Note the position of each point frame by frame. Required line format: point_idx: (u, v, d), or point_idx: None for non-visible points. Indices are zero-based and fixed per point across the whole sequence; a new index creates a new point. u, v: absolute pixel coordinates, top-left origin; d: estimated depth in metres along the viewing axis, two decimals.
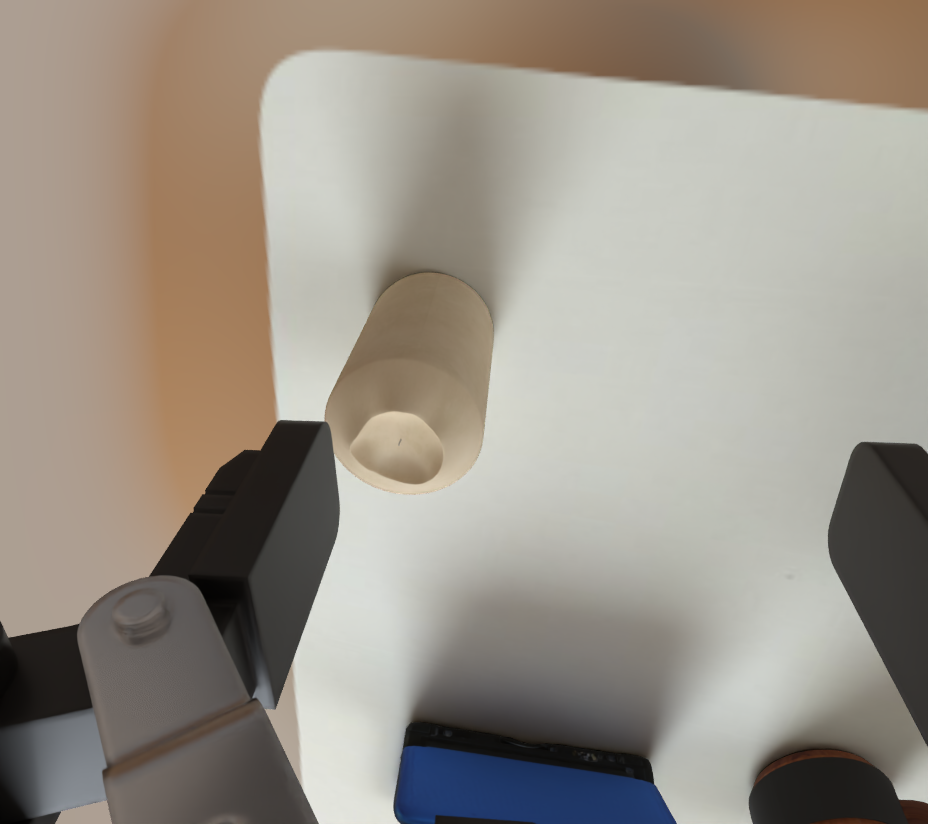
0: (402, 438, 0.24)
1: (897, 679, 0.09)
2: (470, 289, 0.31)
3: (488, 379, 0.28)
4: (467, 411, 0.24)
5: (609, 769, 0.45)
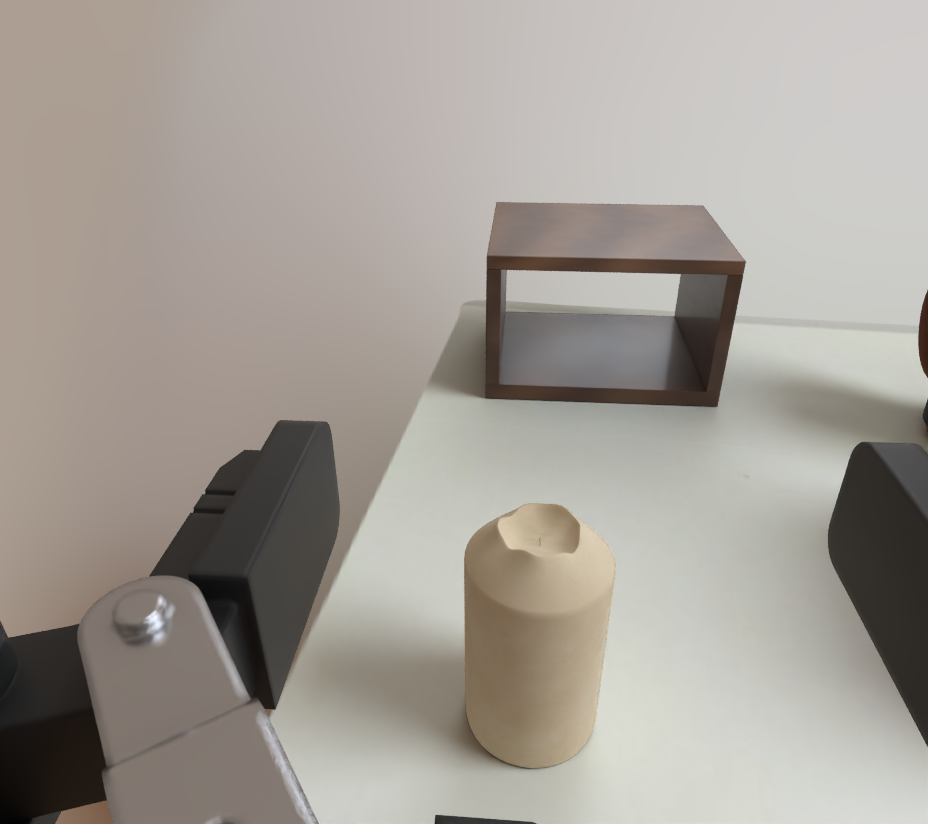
0: (538, 544, 0.26)
1: (897, 678, 0.09)
2: None
3: None
4: None
5: None
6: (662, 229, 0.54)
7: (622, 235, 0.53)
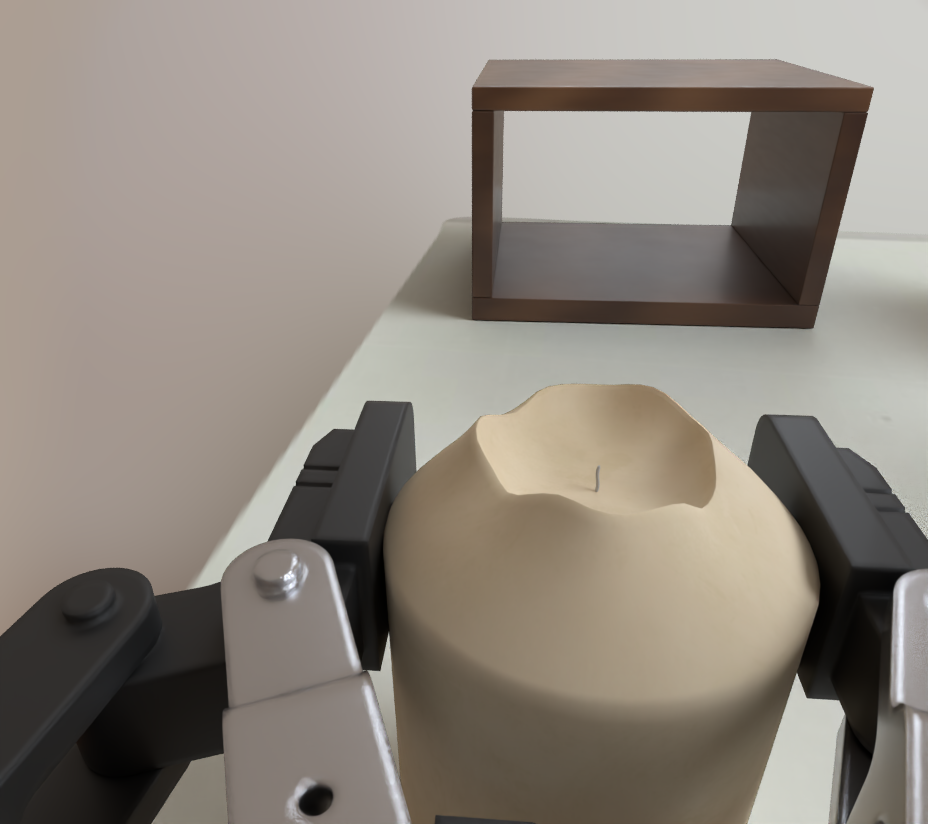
0: (592, 487, 0.09)
1: None
2: None
3: None
4: None
5: None
6: (730, 71, 0.37)
7: (672, 74, 0.36)
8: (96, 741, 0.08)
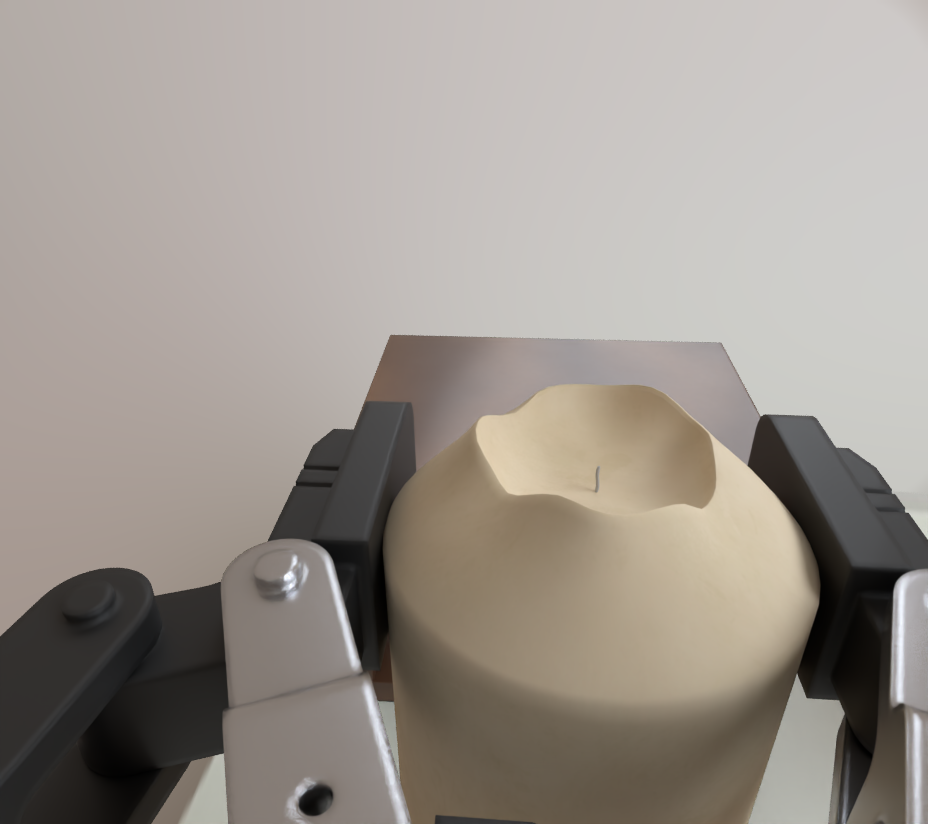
0: (592, 487, 0.09)
1: None
2: None
3: None
4: None
5: None
6: None
7: None
8: (96, 741, 0.08)
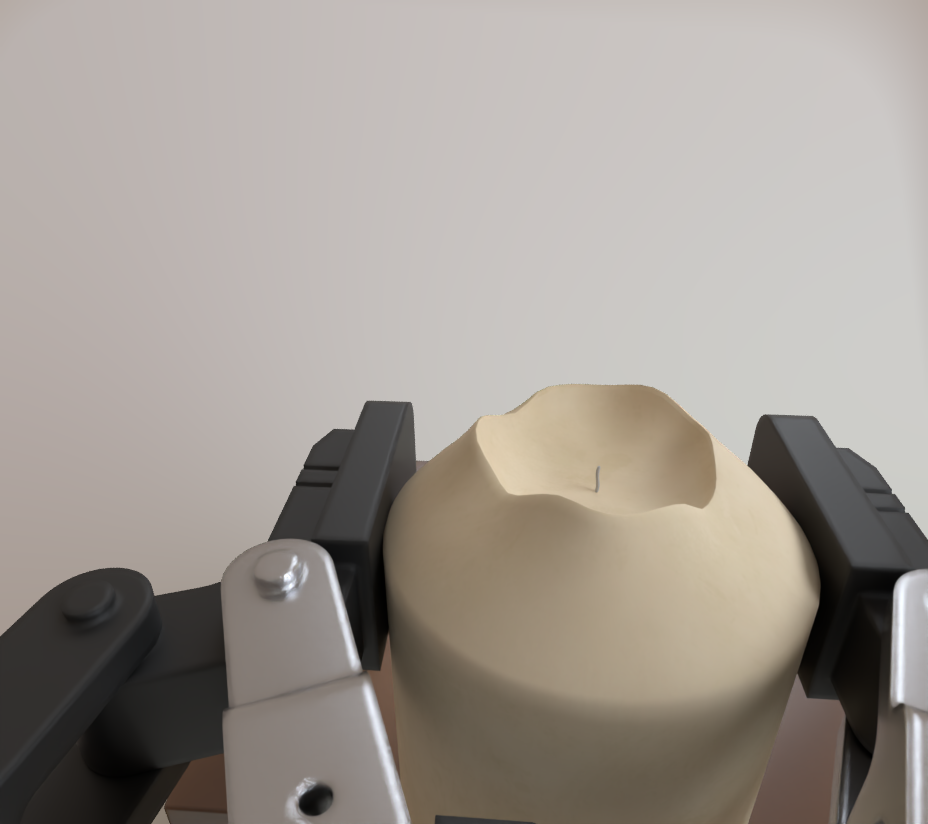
0: (592, 488, 0.09)
1: None
2: None
3: None
4: None
5: None
6: None
7: None
8: (96, 741, 0.08)
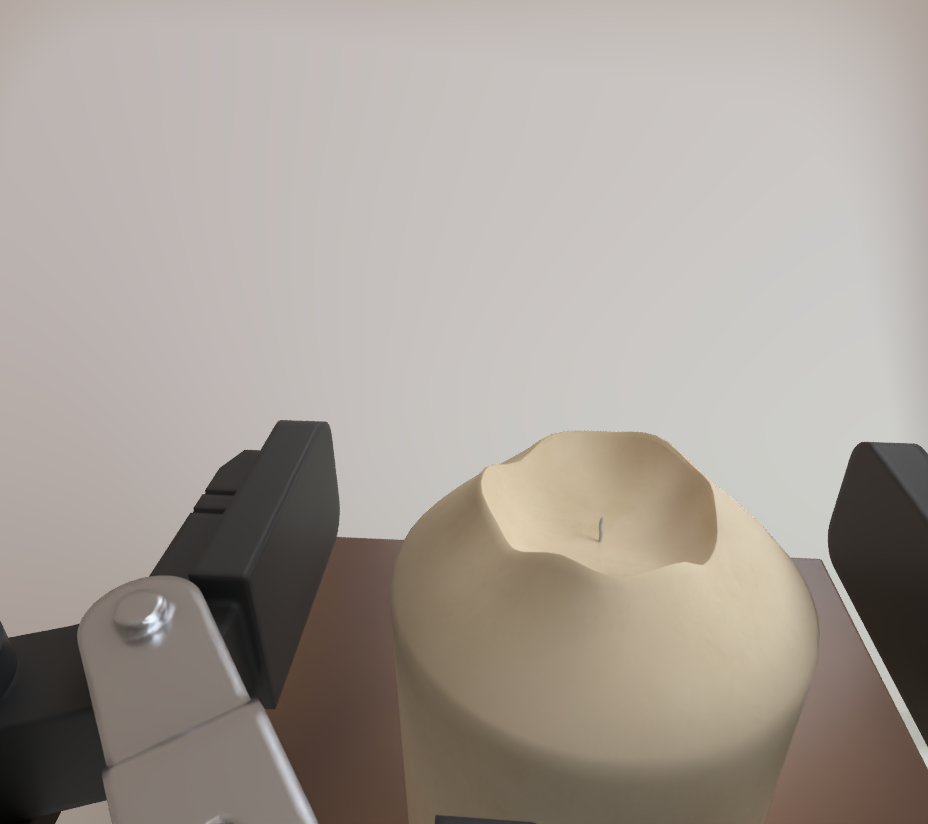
0: (596, 537, 0.09)
1: (897, 678, 0.09)
2: None
3: None
4: None
5: None
6: None
7: None
8: None
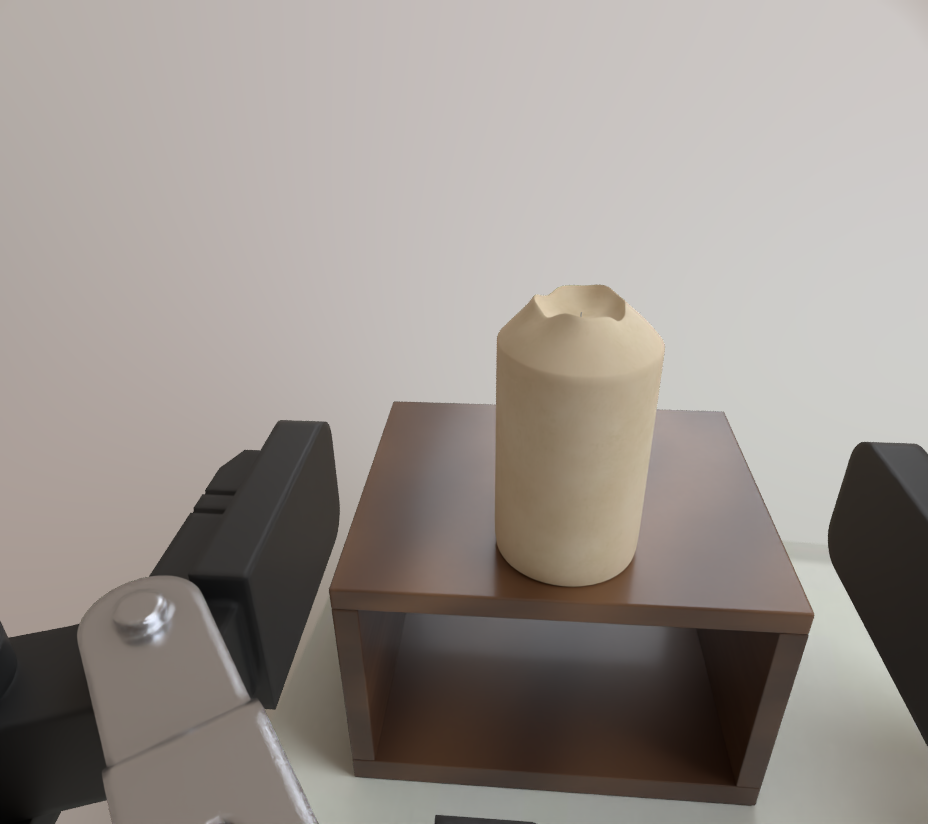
0: None
1: (897, 678, 0.09)
2: None
3: None
4: None
5: None
6: (656, 491, 0.31)
7: None
8: None
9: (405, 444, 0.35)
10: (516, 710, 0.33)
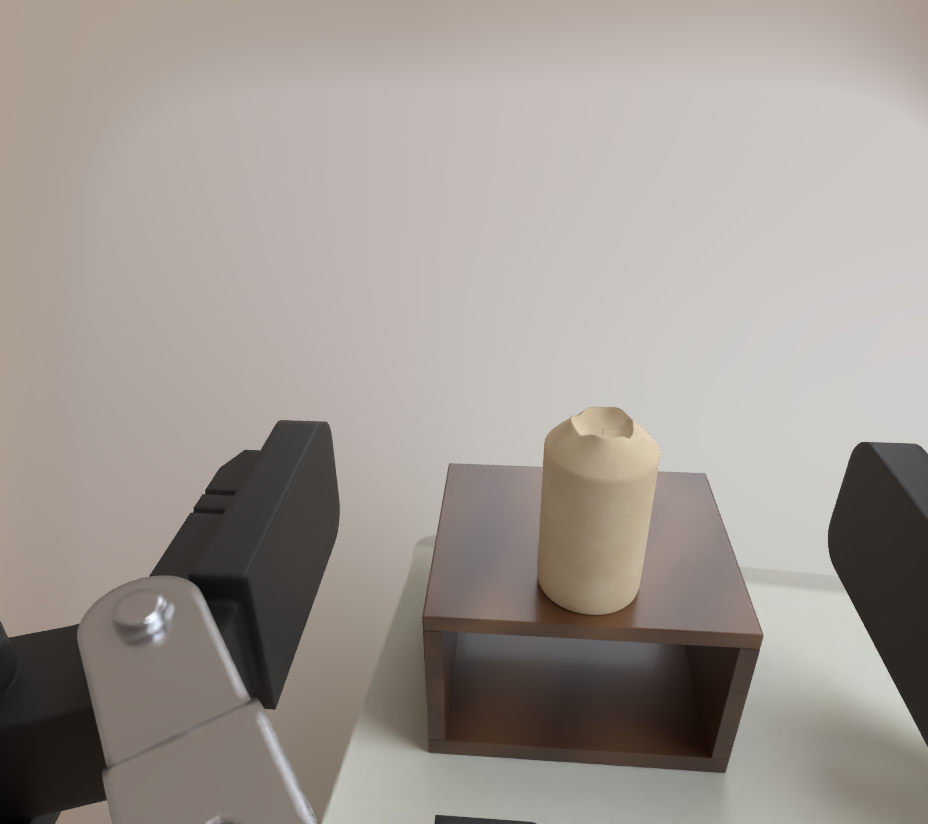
0: (601, 435, 0.35)
1: (897, 678, 0.09)
2: None
3: None
4: None
5: None
6: (653, 541, 0.42)
7: None
8: None
9: (463, 501, 0.45)
10: (548, 703, 0.44)
